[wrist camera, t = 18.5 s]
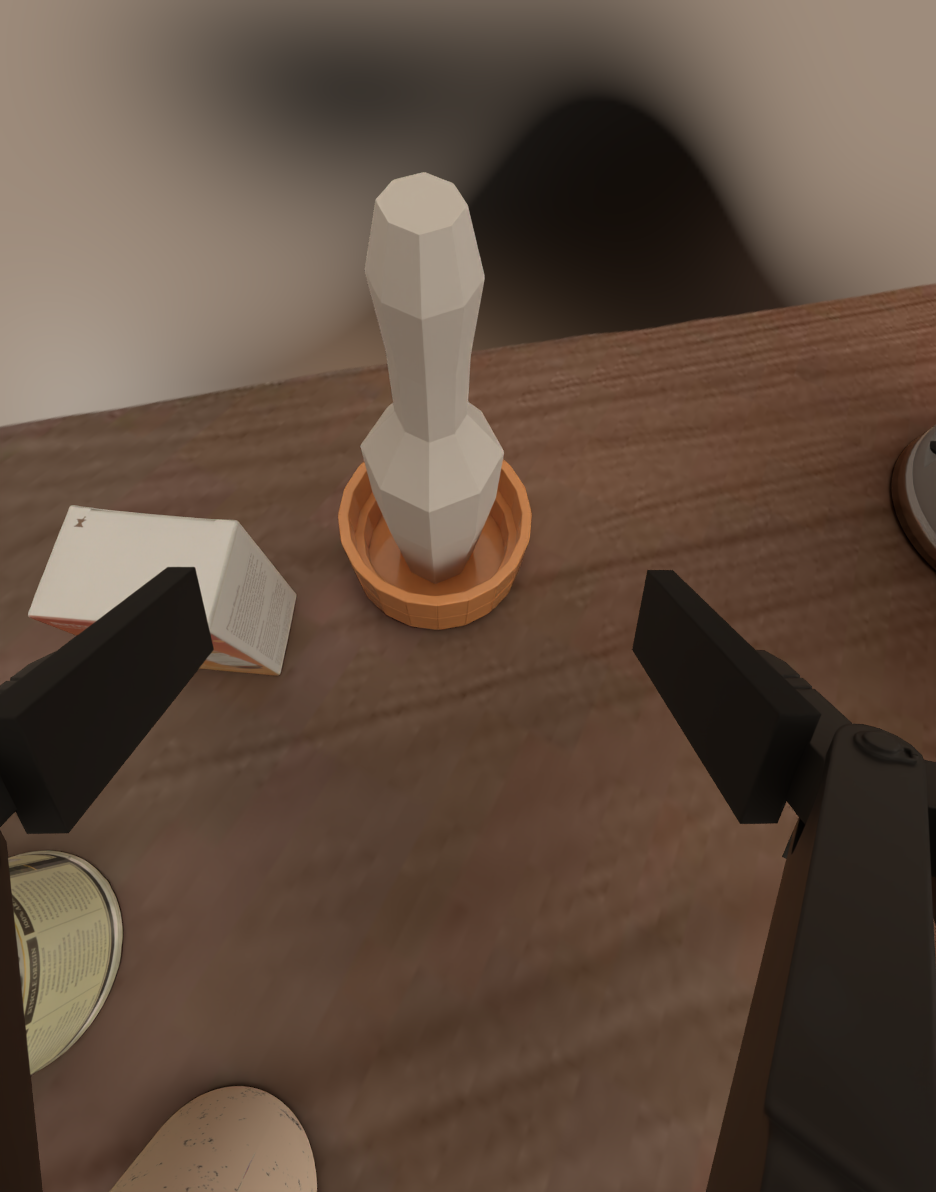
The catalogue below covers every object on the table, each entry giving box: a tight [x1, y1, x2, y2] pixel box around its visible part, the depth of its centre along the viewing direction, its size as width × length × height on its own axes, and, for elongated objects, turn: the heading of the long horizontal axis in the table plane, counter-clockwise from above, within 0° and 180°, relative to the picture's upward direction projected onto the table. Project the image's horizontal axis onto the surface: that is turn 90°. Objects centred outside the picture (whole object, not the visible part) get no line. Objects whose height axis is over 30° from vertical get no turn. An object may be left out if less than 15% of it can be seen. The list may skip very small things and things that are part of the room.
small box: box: [28, 505, 297, 675], centre depth 27 cm, size 8×6×10 cm
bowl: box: [338, 460, 532, 630], centre depth 32 cm, size 11×11×6 cm
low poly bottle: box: [360, 172, 504, 584], centre depth 24 cm, size 6×6×22 cm
